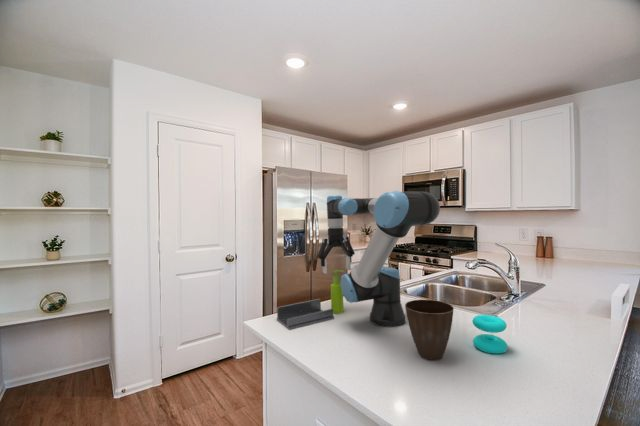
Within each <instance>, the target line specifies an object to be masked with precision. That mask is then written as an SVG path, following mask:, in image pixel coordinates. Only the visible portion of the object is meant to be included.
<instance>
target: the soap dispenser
mask: <svg viewBox="0 0 640 426" xmlns="http://www.w3.org/2000/svg"><path fill="white" fill-rule="evenodd" d="M344 272H345V270H344V269H343V270H342V269H334V270H333V271H332V273H334V276H333V277H332V283H331V284H330V305H331V307H330V309H333V314H343V313H344V295H343V293H342V289H341V277H340V276H339V273H344Z"/></svg>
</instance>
